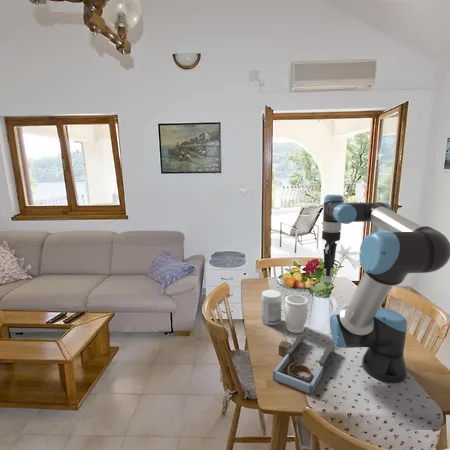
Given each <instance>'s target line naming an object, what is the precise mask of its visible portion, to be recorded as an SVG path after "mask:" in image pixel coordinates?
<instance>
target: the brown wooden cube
mask: <svg viewBox="0 0 450 450" xmlns="http://www.w3.org/2000/svg"><path fill="white" fill-rule="evenodd" d="M291 345H292V343H291V342H289V341H286V340H281V341H280V343H279V345H278V355H281V356H284V357H285V356H286V354H287V350H288V349H289V348H290V347H291Z"/></svg>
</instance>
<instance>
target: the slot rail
mask: <svg viewBox="0 0 450 450" xmlns="http://www.w3.org/2000/svg"><path fill="white" fill-rule="evenodd" d="M305 336H306V333H303V332H301V333H299V335H298V336H297V338H296V339H295V340H294V341H293V343H291V347H290V348H289V349H288V350H287V354H289V362H290V361H291V360H292V359H293V357H294V356H295V354H297V352H298V350H299V349H300V347H301V346H302V345H303V344H304V338H305ZM335 346H336V344H335V343H334V341H330V342H329V344H328V345H327V347H326V349H325V350H324V352H323V354H322V356H321V357H320V359H319V360H318V365H319V367H320V366H323V373H324V371H325V370H326V368H327V367H328V365H329V362H331V359H332V357H333V355H334V353H335V349H336V347H335Z"/></svg>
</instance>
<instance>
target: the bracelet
mask: <svg viewBox="0 0 450 450" xmlns="http://www.w3.org/2000/svg"><path fill="white" fill-rule="evenodd" d="M297 370H298V371H299V370H302V371H305V372H306V371H307V372H306V373H308V374H309V376H308V377H307V376H306V377H305V376H301V375H300V374H297V373H294V371H297ZM286 373H287V374H286V375H288V376H290V377H293V378H296V379H298V380H301V381H303V382H306V383H309V382H310V381H312V380H311V379H313V378H312V376H313V374H312V370H311V369H310V368H309V367H308V366H306V365H303V364H296V363H295V362H293V363H290V364H289V365H288V366H287V372H286Z"/></svg>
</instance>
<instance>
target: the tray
mask: <svg viewBox="0 0 450 450" xmlns="http://www.w3.org/2000/svg"><path fill="white" fill-rule="evenodd" d="M288 363H290V361H289V354H286V356H284V357H283V359H281V360H280V362H279V363H278V364H277V366H276V367H275V369H273V372H272V380H275V381H277V382H279V383H282V384H284V385H287V386H289V387H292V388H294V389H297V390H300V391H301V392H304V393H306V394H310V395H313V393H314V391H315V389H316V387H317V386H318V384H319V382H320V380H321V378H322V376H323V375H324V372H323V366H320V365H319V368H318V369H317V371H316V373H315V375H314V376H313V378H312V380H311V382H310V383H309V382H303V381H301V380H298V379H296V378H293V377H290V376H288V374H284V373H282V372H283V370H284V369H285V368H286V366H287V365H288Z"/></svg>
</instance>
